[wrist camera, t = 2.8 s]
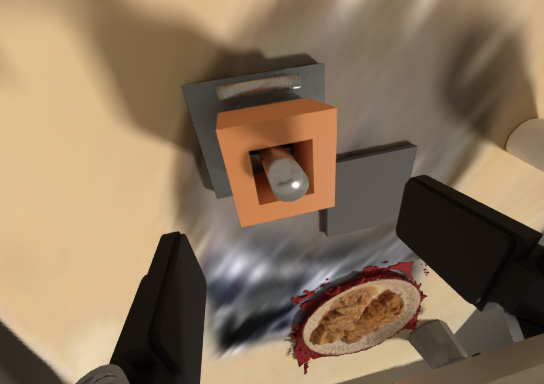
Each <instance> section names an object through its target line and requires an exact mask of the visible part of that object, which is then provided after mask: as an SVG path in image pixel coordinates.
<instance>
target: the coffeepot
mask: <svg viewBox="0 0 544 384" xmlns="http://www.w3.org/2000/svg"><path fill="white" fill-rule="evenodd" d="M409 342H410V344H411V345H412V346H413V347H414V348H415V349H416V350H417V352H418V353H419V354H420V355H421V356H422V357H423V359H424V360H425V361H426V362H427V363H428V364H429V365H430V367H431V368H432V369H433V370H435V369H438V368H441V367H444V366H447V365H450V364H453V363H456V362H459V361H462V360H465V359H468V358H467V354H466V353H465V351H464V349H463V348H462V346H461V345H460V343H459V342H458V340H457V339H456V337H455V336H454V334H453V333H452V331H451V330H450V328H449V327H448V325H447V324H446V323H445V322H443V321H440V320H436V321H431V322H428V323H426V324H423V325H422V326H420V327H418V328H417V329H415V330H414V331H413V332H412V333H411V334H410V336H409ZM477 355H480V353H476V354H474V355H473V356H472V357H474V356H477Z"/></svg>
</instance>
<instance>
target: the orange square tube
mask: <svg viewBox="0 0 544 384" xmlns="http://www.w3.org/2000/svg"><path fill="white" fill-rule="evenodd" d="M216 133H217V137H218V140H219V144H220V148H221V152H222V155H223V159H224V163H225V167H226V170H227V174H228V178H229V181H230V185H231V189H232V193H233V196H234V200H235V204H236V208H237V211H238V215H239V219H240V223H241V226H242V227H245V226H250V225H254V224H259V223H263V222H268V221H272V220H276V219H281V218H285V217H290V216H294V215H299V214H303V213H307V212H312V211H316V210H321V209H325V208H330V207H334V206H335V173H336V135H337V108H336V107H333V106H331V105H328V104H325V103H323V102H320V101H317V100H315V99H312V98H309V97H308V98H302V99H296V100H290V101H285V102H279V103H273V104H267V105H262V106H256V107H250V108H244V109H239V110H233V111H227V112H221V113H218V117H217V124H216ZM288 143H293V148H294V159H295V160H296V162H297V163H298V164H299V166H300V167H301V168H302V170H303V171H304V172H305V174H306V175H307V177H308V179H309V187H308V190H307V192H306V193H305V195H304V196H303V197H301V198H300V199H298V200H296V201H293V202H283V201H281V200H279V199H277V198H276V196H275V195H274V193H273V190H272V188H271V185H270V183H269V180H268V177H267V175H266V172H262V173H257V174H253V171H252V166H251V161H250V156H249V151H252V150H257V149H262V148H268V147H273V146H278V145H283V144H288Z"/></svg>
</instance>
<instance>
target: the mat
mask: <svg viewBox="0 0 544 384" xmlns="http://www.w3.org/2000/svg"><path fill="white" fill-rule="evenodd" d="M417 147H418V146H416V145H413V144H410V145H405V146H400V147H395V148H390V149H385V150H380V151H375V152H370V153H365V154H361V155H356V156H351V157H346V158H341V159H336V173H335V206H334V207H330V208H325V234H326V236H327V237H330V236H335V235H339V234H343V233H347V232H351V231H356V230H360V229H364V228H368V227H372V226H376V225H381V224H385V223H389V222H393V221H397V220H398V216H399V211H400V206H401V201H402V196H403V191H404V186H405V184H406V183H407V181H408V180H409V179H410V177H411V173H412V169H413V164H414V160H415V156H416V151H417Z"/></svg>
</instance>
